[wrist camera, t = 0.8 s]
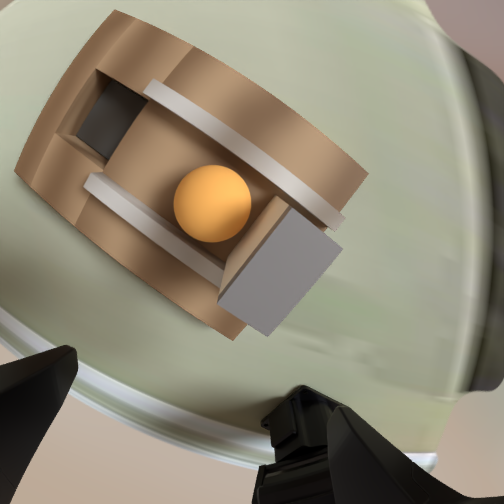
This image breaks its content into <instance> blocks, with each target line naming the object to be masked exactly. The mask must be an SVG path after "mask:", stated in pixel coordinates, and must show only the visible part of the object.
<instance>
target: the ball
mask: <svg viewBox="0 0 504 504" xmlns="http://www.w3.org/2000/svg"><path fill="white" fill-rule="evenodd" d="M250 211H251V196H250V192H249V189H248V187H247V185H246V183H245V182H244V180H243V179H242V178H241V177H240V176H239V175H238V174H237V173H236V172H234V171H233V170H231V169H229V168H227V167H224V166H219V165H207V166H202V167H199V168H197V169H195V170H193V171H191V172H190V173H188V174H187V175H186V176H185V177H184V178H183V179H182V181H181V182H180V184H179V185H178V187H177V190H176V192H175V196H174V212H175V216H176V219H177V221H178V223H179V225H180V226H181V227H182V229H183V230H184V231H185V232H186V233H187V234H189V235H190V236H192V237H193V238H195V239H197V240H200V241H204V242H220V241H224V240H227V239H229V238H231V237H233V236H234V235H236V234H237V233H238V232H239V231H240V230H241V229H242V228H243V227H244V225H245V224H246V222H247V220H248V218H249V215H250Z"/></svg>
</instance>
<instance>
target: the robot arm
mask: <svg viewBox="0 0 504 504" xmlns="http://www.w3.org/2000/svg"><path fill="white" fill-rule="evenodd" d="M77 372H78V359H77V351H76V349H75V348H73V347H71V346H68V345H63V346H60V347H57V348H54V349H51V350H47V351H44V352H41V353H38V354H35V355H32V356H29V357H26V358H23V359H19V360H16V361H13V362H10V363H7V364H3V365H0V504H10V502H11V500H12V498H13V496H14V494H15V491H16V489H17V487H18V485H19V483H20V481H21V479H22V477H23V475H24V473H25V471H26V469H27V467H28V465H29V463H30V461H31V459H32V457H33V456H34V453H35V452H36V450H37V448H38V446H39V444H40V442H41V441H42V439H43V437H44V436H45V434H46V432H47V430H48V428H49V427H50V425H51V423H52V422H53V420H54V418H55V417H56V415H57V413H58V412H59V410H60V408H61V406H62V405H63V402H64V400H65V398H66V396H67V394H68V392H69V389H70V387H71V385H72V383H73V381H74V379H75V377H76V375H77ZM303 391H305V392H303ZM261 426H262V427H263V428H265V429H267V430H270V437H271V446H272V447H273V448H274V451H275V462H276V463H273V464H269V465H261V466H259V470H258V474H257V479H256V484H255V488H254V493H253V498H252V504H504V496H498V497H486V498H471V497H467V496H464V495H462V494H460V493H458V492H457V491H455V490H453V489H452V488H450V487H448V486H447V485H445V484H443V483H442V482H440V481H439V480H437V479H436V478H434V477H433V476H431V475H430V474H429V473H427V472H426V471H425V470H423V469H422V468H421V467H419V466H418V465H417V464H416V463H414V462H412V460H411V459H409V458H408V457H407V456H406V455H405V454H403V453H402V452H401V451H400V450H399V449H397V448H396V447H395V446H394V445H393V444H391V443H390V442H389V441H388V440H387V439H385V438H384V437H383V436H382V435H381V434H380V433H378V432H377V431H376V430H375V429H374V428H373V427H371V426H370V425H369V424H368V423H367V422H366V421H365V420H363V419H362V418H361V417H360V416H359V415H358V414H357V413H355V412H354V411H353V410H352V409H351V408H350V407H348V406H346V405H344V404H342V403H340V402H338V401H335V400H333V399H331V398H329V397H327V396H325V395H323V394H321V393H320V392H318V391H316V390H314V389H312V388H310V387H308V386H302V387H300V388H299V389H298V390H297V391H296V392H295V393H294V394H293V395H291V396H290V397H289V398H288V399H287V400H286V401H284V402H283V403H282V404H281V405H280V406H278V407H277V408H276V409H275V410H274V411H272V412H271V413H270V414H269V415H268V416H267V417H266V418H264V419H263V420H262V421H261Z"/></svg>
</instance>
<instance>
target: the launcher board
mask: <svg viewBox="0 0 504 504" xmlns="http://www.w3.org/2000/svg"><path fill="white" fill-rule="evenodd" d="M113 79H114V80H116V81H117V82H119V83H121V84H122V85H124V86H126V87H127V88H129V89H130V90H132V91H134V92H135V93H137V94H139V95H140V96H142V97H143V98H145V99H147V100H148V102H147V101H146V100H144V99H143V98H141V97H139V96H138V95H136V94H134V93H133V92H131V91H130V90H128V89H126V88H125V87H123V86H121V85H120V84H118V83H116V82H115V81H113ZM77 136H78V137H79V138H78V137H77ZM81 139H82V140H83V141H82V140H81ZM85 142H86V143H87V144H86V143H85ZM89 145H90V146H91V147H90V146H89ZM93 148H94V149H95V150H94V149H93ZM97 151H98V152H99V153H98V152H97ZM101 154H102V155H103V156H102V155H101ZM105 157H106V158H105ZM207 165H219V166H224V167H227V168H229V169H231V170H233V171H234V172H236V173H237V174H238V175H239V176H240V177H241V178H242V179H243V180H244V182H245V183H246V185H247V187H248V189H249V192H250V196H251V211H250V215H249V218H248V220H247V222H246V224H245V225H244V227H243V228H242V229H241V230H240V231H239V232H238V233H237V234H236V235H234V236H233V237H231V238H229V239H227V240H224V241H220V242H204V241H200V240H197V239H195V238H193V237H192V236H190V235H189V234H187V233H186V232H185V231H184V230H183V229H182V227H181V226H180V225H179V223H178V221H177V219H176V216H175V212H174V196H175V192H176V190H177V187H178V185H179V184H180V182H181V181H182V179H183V178H184V177H185V176H186V175H187V174H188V173H190V172H191V171H193V170H195V169H197V168H199V167H202V166H207ZM14 172H15V173H16V174H17V175H19V176H20V177H21V178H22V179H23V180H24V181H25V182H26V183H27V184H28V185H29V186H30V187H31V188H32V189H33V190H34V191H35V192H36V193H37V194H38V195H40V196H41V197H42V198H43V199H44V200H45V201H46V202H47V203H48V204H49V205H51V206H52V207H53V208H54V209H55V210H56V211H57V212H58V213H60V214H61V215H62V216H63V217H64V218H65V219H66V220H68V221H69V222H70V223H71V224H72V225H73V226H75V227H76V228H77V229H78V230H79V231H81V232H82V233H83V234H84V235H85V236H87V237H88V238H89V239H90V240H91V241H93V242H94V243H95V244H96V245H98V246H99V247H100V248H101V249H103V250H104V251H105V252H106V253H108V254H109V255H110V256H111V257H113V258H114V259H115V260H117V261H118V262H119V263H121V264H122V265H123V266H124V267H126V268H127V269H128V270H130V271H131V272H132V273H134V274H135V275H136V276H138V277H139V278H140V279H142V280H143V281H145V282H146V283H147V284H149V285H150V286H151V287H153V288H154V289H156V290H157V291H158V292H160V293H161V294H163V295H164V296H165V297H167V298H168V299H170V300H171V301H173V302H174V303H176V304H177V305H178V306H180V307H181V308H183V309H184V310H186V311H187V312H189V313H190V314H192V315H193V316H195V317H196V318H198V319H199V320H201V321H202V322H204V323H205V324H207V325H208V326H210V327H212V328H213V329H215V330H216V331H218V332H219V333H221V334H223V335H224V336H226V337H227V338H229V339H231V340H232V341H233V340H234V339H235V338H236V337H237V336H238V334H239V333H240V332H241V331H242V330H243V329H244V328H245V326H246V325H247V323H245V322H243V321H242V320H240V319H239V318H237V317H236V316H234V315H233V314H231V313H230V312H228V311H227V310H225V309H224V308H222V307H221V306H219V305H218V304H217V300H218V296H219V291H220V287H221V283H222V278H223V274H224V270H225V265H226V261H227V257H228V256H229V254H230V253H231V252H232V250H233V249H234V248H235V246H236V245H237V244H238V243H239V241H240V240H241V239H242V237H243V236H244V235H245V233H246V232H247V231H248V229H249V228H250V227H251V226H252V224H253V223H254V222H255V220H256V219H257V218H258V216H259V215H260V214H261V213H262V211H263V210H264V209H265V207H266V206H267V205H268V203H269V202H270V201H271V200H272V198H273V197H274V196H275V195H276V196H278V197H279V198H280V199H282V200H283V201H284V202H286V203H287V204H288V205H290V206H291V207H292V208H294V209H295V210H296V211H297V212H299V213H300V214H301V215H302V216H304V217H305V218H306V219H307V220H309V221H310V222H311V223H312V224H314V225H315V226H316V227H317V228H319V229H320V230H321V231H322V232H323V233H324V231H325V230H326V229H327V227H329V228H330V229H331V230H333V231H334V232H335V231H336V230H337V228H338V227H339V226H340V225H341V223H342V222H343V221H344V220H345V217H344V216H343V215H342V214H341V213H339V212H340V211H341V210H342V208H343V207H344V206H345V204H346V203H347V202H348V200H349V199H350V198H351V197H352V195H353V194H354V193H355V191H356V190H357V189H358V187H359V186H360V185H361V183H362V182H363V181H364V179H365V178H366V177H367V175H368V174H369V173H367V172H366V171H365V170H364V169H363V168H362V167H361V166H360V165H359V164H358V163H357V162H356V161H354V160H353V159H352V158H351V157H350V156H349V155H348V154H347V153H345V152H344V151H343V150H342V149H341V148H340V147H339V146H337V145H336V144H335V143H334V142H333V141H331V140H330V139H329V138H328V137H327V136H325V135H324V134H323V133H322V132H321V131H319V130H318V129H317V128H316V127H314V126H313V125H312V124H311V123H309V122H308V121H307V120H306V119H304V118H303V117H302V116H300V115H299V114H298V113H296V112H295V111H294V110H292V109H291V108H290V107H288V106H287V105H286V104H284V103H283V102H282V101H280V100H279V99H277V98H276V97H275V96H273V95H272V94H270V93H269V92H267V91H266V90H265V89H263V88H262V87H260V86H259V85H257V84H256V83H254V82H253V81H251V80H250V79H248V78H247V77H245V76H243V75H242V74H240V73H239V72H237V71H236V70H234V69H232V68H231V67H229V66H228V65H226V64H224V63H223V62H221V61H219V60H218V59H216V58H214V57H212V56H211V55H209V54H207V53H205V52H204V51H202V50H200V49H198V48H196V47H195V46H193V45H191V44H189V43H187V42H185V41H183V40H181V39H179V38H177V37H175V36H173V35H171V34H169V33H167V32H165V31H163V30H161V29H159V28H157V27H155V26H153V25H150V24H148V23H146V22H144V21H142V20H139V19H137V18H135V17H132V16H130V15H127V14H125V13H122V12H120V11H117V10H114V11H113V12H112V13H111V14H110V15H109V16H108V17H107V18H106V20H105V21H104V22H103V23H102V24H101V25H100V27H99V28H98V29H97V30H96V31H95V33H94V34H93V35H92V36H91V38H90V39H89V40H88V41H87V43H86V44H85V45H84V47H83V48H82V49H81V51H80V52H79V53H78V55H77V56H76V57H75V59H74V60H73V62H72V63H71V65H70V66H69V68H68V69H67V70H66V72H65V73H64V75H63V77H62V78H61V80H60V81H59V83H58V84H57V86H56V88H55V89H54V91H53V93H52V94H51V96H50V98H49V99H48V101H47V103H46V105H45V106H44V108H43V110H42V112H41V114H40V115H39V117H38V119H37V121H36V123H35V125H34V127H33V129H32V131H31V133H30V135H29V137H28V139H27V142H26V144H25V146H24V148H23V150H22V153H21V155H20V157H19V160H18V162H17V165H16V167H15V170H14Z"/></svg>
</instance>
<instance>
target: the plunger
mask: <svg viewBox="0 0 504 504" xmlns="http://www.w3.org/2000/svg"><path fill="white" fill-rule="evenodd" d="M342 250H343V248H342V247H340V246H339V245H338V244H337V243H336V242H334V241H333V240H332V239H331V238H330V237H328V236H327V235H326V234H325V233H323V232H322V231H321V230H320V229H319V228H317V227H316V226H315V225H314V224H312V223H311V222H310V221H309V220H307V219H306V218H305V217H304V216H302V215H301V214H300V213H299V212H297V211H296V210H295V209H294V208H292V207H291V206H290V205H288V204H287V203H286V202H284V201H283V200H282V199H280V198H279V197H278V196H276V195H275V196H274V197H273V198H272V200H271V201H270V202H269V203H268V205H267V206H266V207H265V209H264V210H263V211H262V213H261V214H260V215H259V216H258V218H257V219H256V220H255V222H254V223H253V224H252V226H251V227H250V228H249V229H248V231H247V232H246V233H245V235H244V236H243V237H242V239H241V240H240V241H239V243H238V244H237V245H236V246H235V248H234V249H233V250H232V252H231V253H230V254H229V256H228V257H227V261H226V265H225V270H224V274H223V278H222V283H221V287H220V291H219V296H218V300H217V304H218V305H219V306H221V307H222V308H224V309H225V310H227V311H228V312H230V313H231V314H233V315H234V316H236V317H237V318H239V319H240V320H242V321H243V322H245V323H247V324H248V325H250V326H251V327H253V328H254V329H256V330H257V331H259V332H261V333H262V334H264V335H265V336H267V337H268V336H269V335H270V334H271V333H272V332H273V331H274V330H275V328H276V327H277V326H278V325H279V324H280V323H281V322H282V321H283V320H284V318H285V317H286V316H287V315H288V314H289V313H290V312H291V310H292V309H293V308H294V307H295V306H296V305H297V304H298V302H299V301H300V300H301V299H302V298H303V297H304V296H305V294H306V293H307V292H308V291H309V290H310V289H311V287H312V286H313V285H314V284H315V283H316V281H317V280H318V279H319V278H320V277H321V275H322V274H323V273H324V272H325V271H326V269H327V268H328V267H329V266H330V265H331V263H332V262H333V261H334V260H335V258H336V257H337V256H338V255H339V253H340V252H341V251H342Z"/></svg>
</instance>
